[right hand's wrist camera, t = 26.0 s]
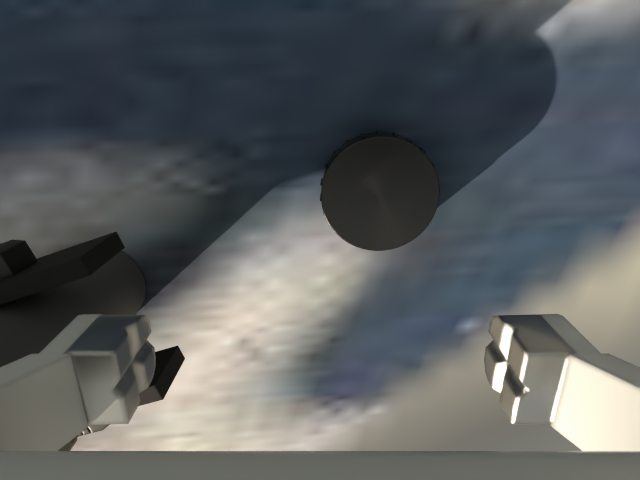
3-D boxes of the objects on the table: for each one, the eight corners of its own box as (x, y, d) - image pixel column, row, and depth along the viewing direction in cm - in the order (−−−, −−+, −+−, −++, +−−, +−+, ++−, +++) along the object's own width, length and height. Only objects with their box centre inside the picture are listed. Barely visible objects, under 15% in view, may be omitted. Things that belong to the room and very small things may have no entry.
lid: (424, 117, 20) (431, 120, 19) (442, 227, 22) (449, 238, 21) (308, 146, 21) (306, 151, 19) (335, 251, 23) (335, 263, 21)
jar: (61, 316, 25) (-272, 608, 11) (53, 236, 23) (-354, 468, 9) (146, 327, 25) (-80, 631, 11) (145, 248, 23) (-126, 497, 10)
